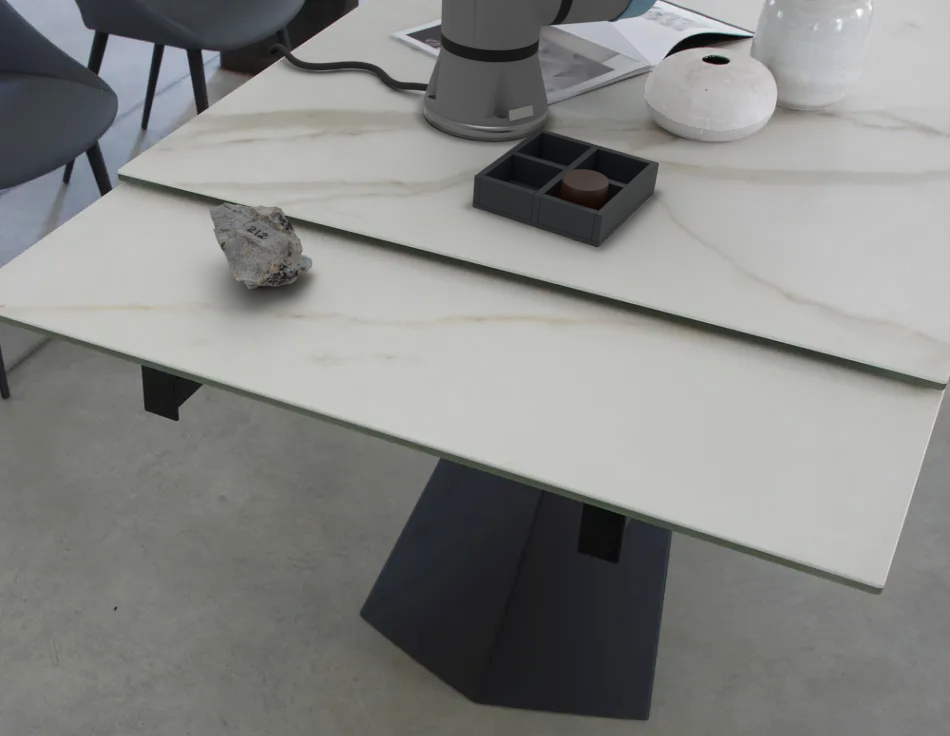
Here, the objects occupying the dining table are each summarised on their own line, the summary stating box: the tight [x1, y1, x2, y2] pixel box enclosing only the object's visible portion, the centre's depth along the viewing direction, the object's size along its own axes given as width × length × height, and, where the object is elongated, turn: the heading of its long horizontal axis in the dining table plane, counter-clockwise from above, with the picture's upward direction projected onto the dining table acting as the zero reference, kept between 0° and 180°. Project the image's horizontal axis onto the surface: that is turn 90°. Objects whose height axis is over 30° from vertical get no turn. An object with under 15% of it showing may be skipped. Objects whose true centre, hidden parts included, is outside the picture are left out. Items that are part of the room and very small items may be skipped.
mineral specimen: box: [208, 202, 313, 291], centre depth 95 cm, size 10×8×10 cm
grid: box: [472, 128, 660, 247], centre depth 111 cm, size 15×15×4 cm
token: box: [560, 169, 609, 211], centre depth 107 cm, size 5×5×4 cm
